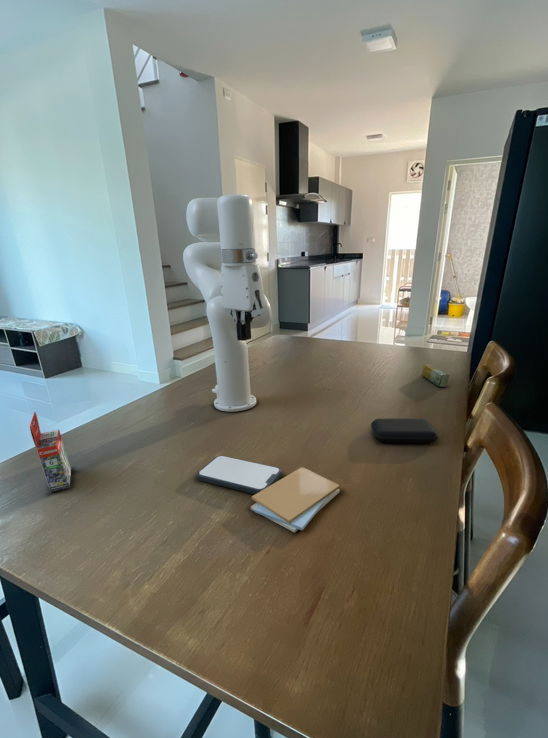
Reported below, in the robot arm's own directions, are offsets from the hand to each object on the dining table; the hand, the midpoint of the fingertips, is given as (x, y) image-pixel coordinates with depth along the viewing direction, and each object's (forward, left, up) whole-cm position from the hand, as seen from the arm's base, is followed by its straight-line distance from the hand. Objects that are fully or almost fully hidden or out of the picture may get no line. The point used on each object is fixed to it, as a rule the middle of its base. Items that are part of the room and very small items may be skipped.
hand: (244, 339), depth 92 cm
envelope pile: (+29, -18, -23) cm, 41 cm away
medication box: (+27, +61, -23) cm, 70 cm away
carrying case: (+34, +18, -23) cm, 45 cm away
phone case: (+15, -19, -23) cm, 34 cm away
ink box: (-14, -42, -23) cm, 50 cm away
